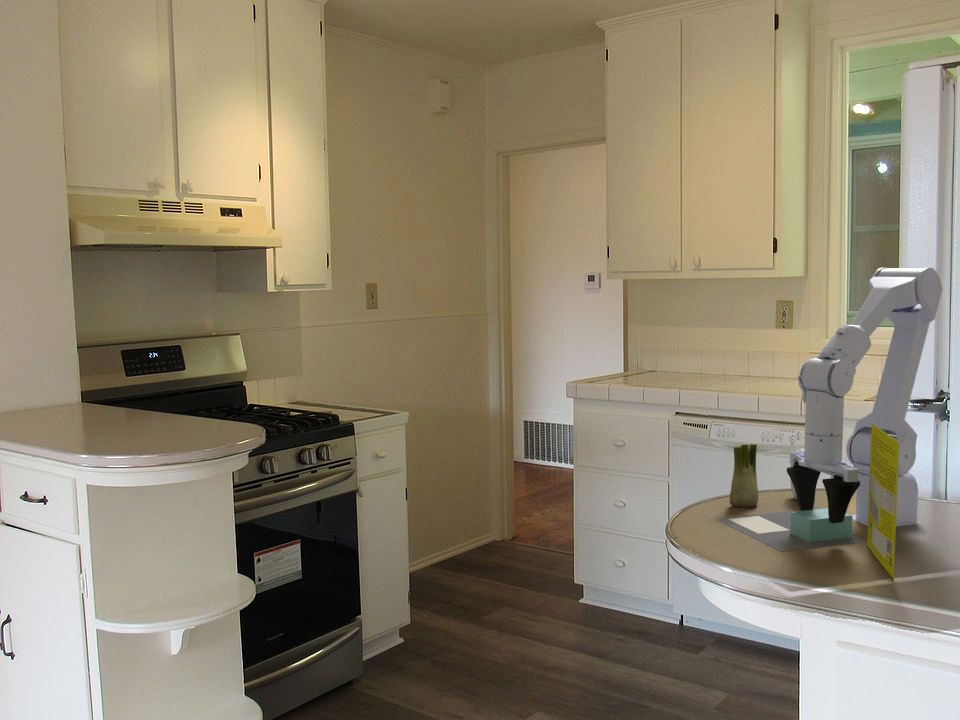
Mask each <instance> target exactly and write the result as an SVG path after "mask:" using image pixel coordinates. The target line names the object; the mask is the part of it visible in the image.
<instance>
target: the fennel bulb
mask: <svg viewBox="0 0 960 720" xmlns="http://www.w3.org/2000/svg"><path fill="white" fill-rule="evenodd" d="M757 447H758V444H757V443H750V444H749V443H741V444H740V445H737V446H733V461H734V463H733V475H732V480H731V485H730V488H731V489H730V492H729V504H730V505H731V507H733V508H734V507H735V508H740V509H741V508H742V509H743V508H744V509H747V508H748V509H749V508H755V507H756V506H757V505H758V502H759V488H758V478H757V476H758V475H757V449H758V448H757Z"/></svg>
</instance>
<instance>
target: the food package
mask: <svg viewBox="0 0 960 720" xmlns="http://www.w3.org/2000/svg"><path fill="white" fill-rule="evenodd" d="M891 436H892V435H891ZM891 436H890V434H887V433H885V432H884V431H882V430H881V429H880V428H878V427H877V426H875V425H873V424H871V447H870V477H869V506H868V526H867V533H866V534H867V537H866V538H867V540H866V541H867V548H868V549H869V550H870V551H871V552H872V554H873V556H874V557H875V558H876V559H877V560H878V562H879V563H880V564H881V565H882V567H883V568H884V570H885V571H886V572H887V573H888V574H889V575H890V578H889V579H890V580H891V582H892V583H893V584H894V583H895V556H896V535H897V533H896V531H897V530H896V529H897V526H896V510H897V483H898V455H899V442H897V441H896V440H895V439H894V438H892V437H891Z"/></svg>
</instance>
